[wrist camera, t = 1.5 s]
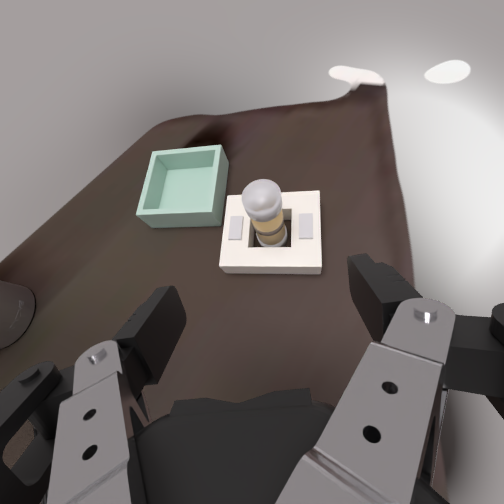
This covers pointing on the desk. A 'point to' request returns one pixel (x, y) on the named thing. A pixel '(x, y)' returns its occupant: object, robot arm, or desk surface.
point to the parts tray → (185, 188)
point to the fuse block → (274, 258)
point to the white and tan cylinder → (266, 212)
